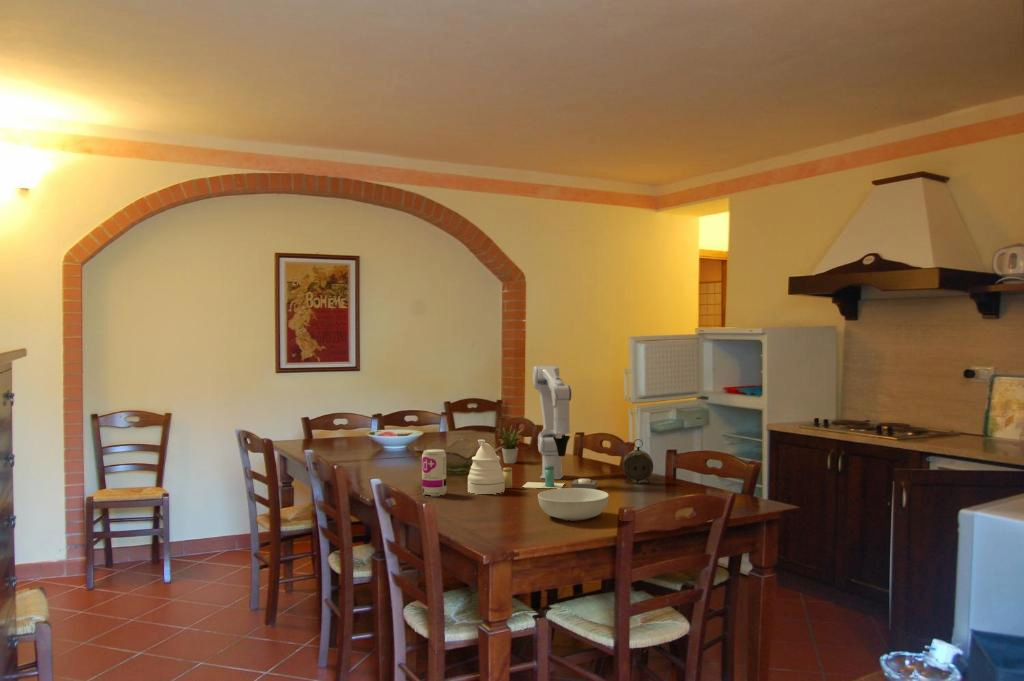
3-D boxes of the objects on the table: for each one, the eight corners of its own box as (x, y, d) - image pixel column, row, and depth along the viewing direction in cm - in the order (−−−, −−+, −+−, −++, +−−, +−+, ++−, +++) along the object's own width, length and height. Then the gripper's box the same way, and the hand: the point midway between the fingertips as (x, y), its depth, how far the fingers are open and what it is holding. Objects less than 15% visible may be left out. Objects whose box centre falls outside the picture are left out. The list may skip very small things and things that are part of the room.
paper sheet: (527, 482, 276) (527, 481, 276) (564, 484, 273) (564, 483, 273) (521, 487, 266) (521, 487, 266) (560, 489, 263) (560, 488, 263)
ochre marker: (504, 487, 268) (503, 467, 268) (513, 487, 267) (512, 467, 267) (501, 488, 265) (501, 468, 265) (511, 489, 264) (510, 469, 264)
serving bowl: (564, 506, 236) (564, 484, 236) (622, 516, 222) (622, 493, 222) (523, 518, 219) (523, 495, 219) (582, 529, 206) (582, 504, 206)
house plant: (485, 464, 319) (485, 426, 319) (496, 459, 332) (496, 422, 333) (517, 465, 315) (517, 427, 315) (527, 460, 328) (527, 423, 328)
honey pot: (482, 496, 252) (482, 443, 252) (460, 490, 262) (460, 439, 262) (512, 491, 260) (512, 439, 260) (489, 486, 270) (489, 436, 270)
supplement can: (434, 497, 250) (434, 452, 250) (417, 494, 255) (417, 450, 255) (451, 493, 256) (451, 450, 256) (433, 491, 261) (433, 448, 261)
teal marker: (546, 485, 269) (545, 465, 270) (555, 485, 269) (554, 465, 269) (544, 486, 266) (543, 467, 266) (553, 486, 265) (552, 467, 266)
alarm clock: (652, 482, 276) (652, 438, 276) (653, 484, 271) (653, 440, 271) (622, 481, 277) (622, 438, 277) (623, 484, 272) (623, 439, 272)
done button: (579, 486, 267) (579, 478, 267) (591, 487, 266) (591, 478, 266) (577, 489, 263) (577, 480, 263) (590, 489, 262) (589, 480, 262)
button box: (574, 486, 269) (574, 479, 269) (597, 486, 267) (596, 480, 267) (571, 490, 261) (571, 483, 261) (594, 491, 259) (594, 484, 259)
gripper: (553, 416, 280) (554, 453, 280) (547, 420, 266) (547, 458, 266) (572, 416, 279) (572, 453, 278) (567, 420, 264) (567, 459, 264)
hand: (561, 456), depth 272 cm, fingers closed
